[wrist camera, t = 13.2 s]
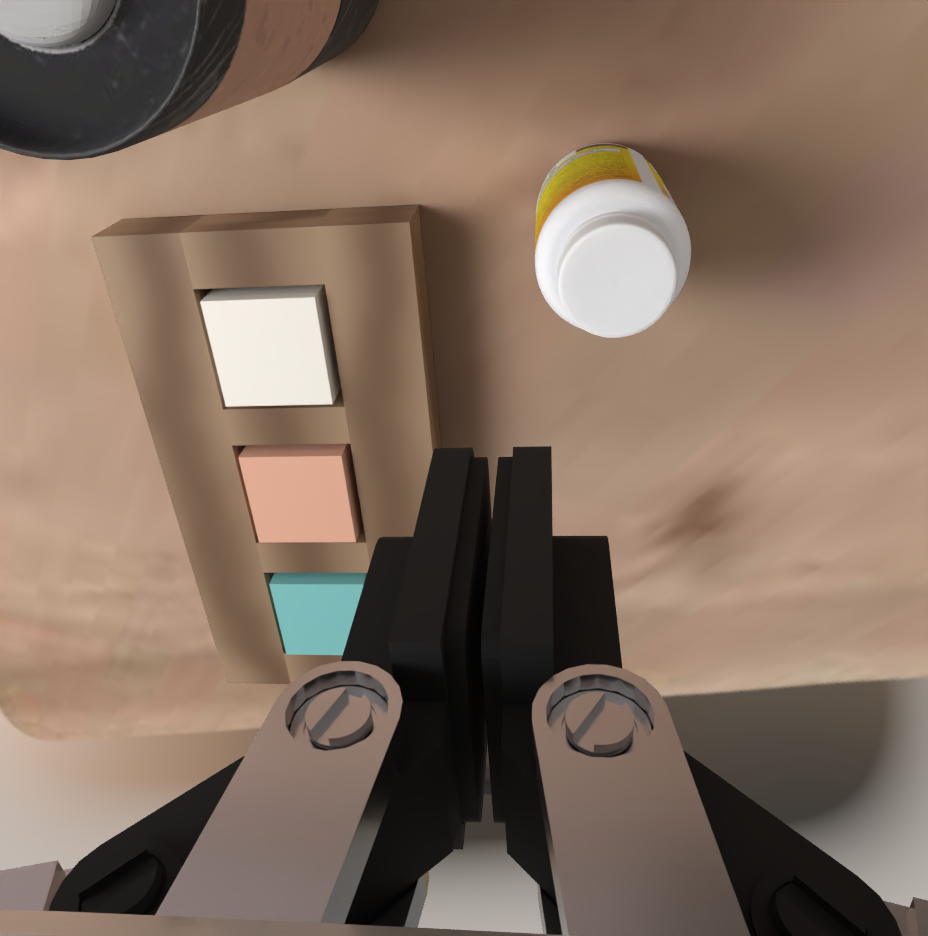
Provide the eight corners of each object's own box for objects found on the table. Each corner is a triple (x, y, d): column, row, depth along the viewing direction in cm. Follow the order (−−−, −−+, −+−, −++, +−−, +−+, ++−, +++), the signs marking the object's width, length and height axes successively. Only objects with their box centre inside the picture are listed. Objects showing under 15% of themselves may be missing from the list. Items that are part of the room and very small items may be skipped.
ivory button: (330, 275, 38) (314, 297, 35) (346, 377, 40) (332, 404, 38) (223, 279, 38) (200, 301, 36) (245, 379, 41) (225, 406, 38)
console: (418, 204, 36) (409, 222, 34) (460, 650, 50) (456, 686, 48) (122, 219, 38) (91, 237, 35) (242, 647, 52) (227, 683, 49)
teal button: (373, 550, 46) (362, 584, 43) (384, 619, 49) (375, 655, 46) (284, 550, 47) (269, 584, 44) (299, 619, 49) (286, 654, 47)
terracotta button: (353, 426, 42) (341, 455, 39) (366, 509, 45) (355, 542, 42) (256, 428, 42) (238, 457, 40) (275, 510, 45) (259, 542, 43)
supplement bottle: (511, 225, 36) (500, 305, 28) (585, 112, 34) (599, 161, 25) (612, 292, 38) (632, 388, 29) (691, 188, 35) (739, 259, 26)
